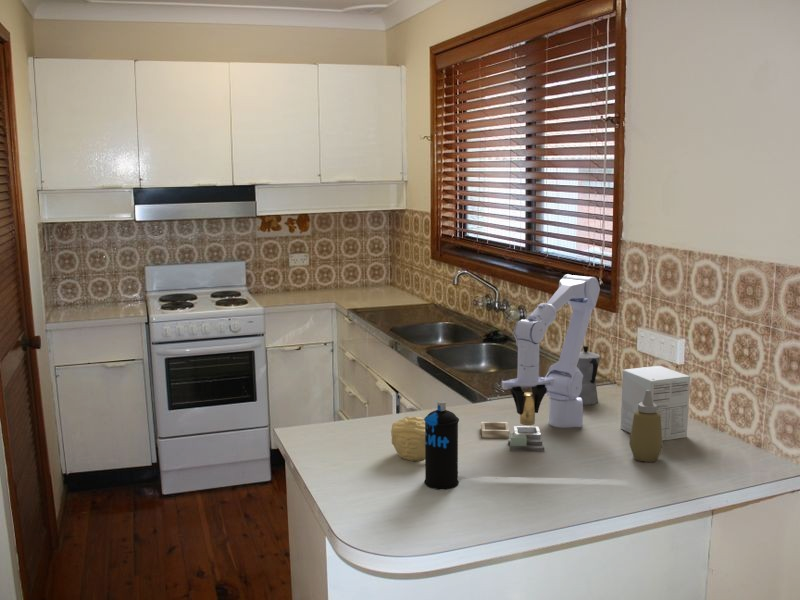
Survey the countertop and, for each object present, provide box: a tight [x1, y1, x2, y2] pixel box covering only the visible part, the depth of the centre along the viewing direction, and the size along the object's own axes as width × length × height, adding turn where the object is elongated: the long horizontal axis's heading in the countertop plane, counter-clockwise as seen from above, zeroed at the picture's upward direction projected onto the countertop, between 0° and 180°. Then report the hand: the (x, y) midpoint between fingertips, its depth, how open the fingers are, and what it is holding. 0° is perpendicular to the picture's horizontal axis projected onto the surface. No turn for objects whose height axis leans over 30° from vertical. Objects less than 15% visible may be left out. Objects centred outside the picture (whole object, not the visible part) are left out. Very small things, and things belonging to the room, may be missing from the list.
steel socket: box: [512, 425, 542, 441], centre depth 214 cm, size 7×7×2 cm
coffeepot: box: [577, 345, 601, 406], centre depth 248 cm, size 15×9×18 cm, turn 9°
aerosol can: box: [423, 400, 460, 490], centre depth 185 cm, size 8×8×20 cm
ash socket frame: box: [480, 421, 511, 439], centre depth 218 cm, size 7×7×2 cm
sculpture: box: [390, 416, 425, 462], centre depth 203 cm, size 12×12×11 cm
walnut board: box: [507, 439, 546, 452], centre depth 213 cm, size 17×19×2 cm
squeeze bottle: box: [629, 390, 663, 463], centre depth 200 cm, size 8×8×18 cm
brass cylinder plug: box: [519, 392, 536, 426], centre depth 213 cm, size 4×4×8 cm
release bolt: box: [509, 433, 528, 446], centre depth 207 cm, size 4×3×3 cm
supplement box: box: [620, 365, 691, 442], centre depth 219 cm, size 13×13×18 cm
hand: (527, 412), depth 213 cm, fingers closed on brass cylinder plug, 4 cm apart
